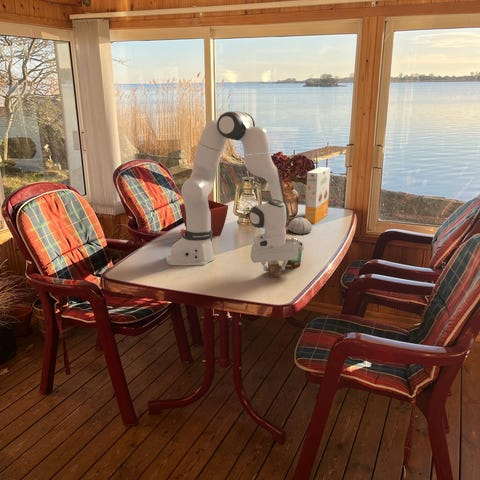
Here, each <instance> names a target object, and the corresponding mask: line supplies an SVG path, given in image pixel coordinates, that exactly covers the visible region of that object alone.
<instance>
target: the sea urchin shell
mask: <svg viewBox="0 0 480 480" xmlns="http://www.w3.org/2000/svg"><path fill="white" fill-rule="evenodd" d="M287 229H288V230H289V231H290V232H291V233H294V234H299V235H301V234H302V235H305V234H309V233H310V232H311V231H312V229H313V224H311V223H310V222H309V221H308V220H307V219H305V217H301V216H299V217H295V218H293V219H291V221H290V222H289V223H288V226H287Z"/></svg>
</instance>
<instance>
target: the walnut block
mask: <svg viewBox="0 0 480 480" xmlns="http://www.w3.org/2000/svg"><path fill="white" fill-rule="evenodd" d="M280 265H281V264H280V263H279V261H270V262H267V267H268V271H267V273H268V276H269V277H271V278H277V279H281V272H282V270H281V267H280ZM271 278H270V279H271Z"/></svg>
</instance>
